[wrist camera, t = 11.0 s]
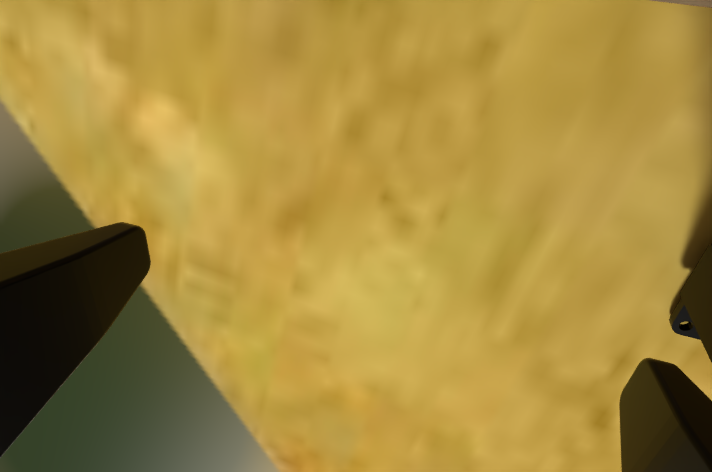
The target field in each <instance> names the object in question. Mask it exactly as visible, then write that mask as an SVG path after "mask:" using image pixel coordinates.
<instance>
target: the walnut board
mask: <svg viewBox="0 0 712 472" xmlns="http://www.w3.org/2000/svg"><path fill="white" fill-rule="evenodd" d="M652 1H660V2H669V3H677V4H685V5H693V6H702V7H710V8H712V0H652Z"/></svg>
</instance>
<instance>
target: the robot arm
mask: <svg viewBox="0 0 712 472" xmlns="http://www.w3.org/2000/svg"><path fill="white" fill-rule="evenodd" d="M150 262H151V261H150V255H149V250H148V244H147V239H146V234H145V231H144V230H143V228H141V227H140V226H136V225H133V224H129V223H124V222H120V223H116V224H112V225H108V226H104V227H100V228H96V229H93V230H89V231H85V232H81V233H77V234H73V235H70V236H66V237H62V238H58V239H54V240H50V241H46V242H43V243H39V244H35V245H31V246H27V247H23V248H19V249H16V250H12V251H8V252H4V253H0V458H1V456H2V455H3V454H4V453H5V452H6V450H7V449H8V448H9V447H10V446H11V445H12V443H13V442H14V441H15V440H16V439H17V438H18V436H19V435H20V434H21V433H22V432H23V430H24V429H25V428H26V427H27V425H29V423H30V422H31V421H32V420H33V419H34V418H35V416H36V415H37V414H38V413H39V412H40V410H41V409H42V408H43V407H44V406H45V405H46V403H47V402H48V401H49V400H50V399H51V398H52V396H53V395H54V394H55V393H56V392H57V390H58V389H59V388H60V387H61V386H62V385H63V384H64V382H65V381H66V380H67V379H68V377H69V376H70V375H71V374H72V373H73V372H74V371H75V369H76V368H77V367H78V366H79V365H80V363H81V362H82V361H83V360H84V359H85V358H86V356H87V355H88V354H89V353H90V352H91V350H92V349H93V348H94V347H95V346H96V345H97V343H98V342H99V341H100V340H101V339H102V337H103V336H104V335H105V333H106V332H107V331H108V329H109V328H110V327H111V325H112V324H113V322H114V321H115V319H116V318H117V317H118V315H119V314H120V312H121V311H122V309H123V308H124V307H125V305H126V304H127V302H128V301H129V299H130V298H131V296H132V295H133V293H134V292H135V291H136V289H137V288H138V286H139V285H140V284H141V282H142V281H143V279H144V278H145V276H146V275H147V273H148V271H149V268H150ZM680 297H681V300H680V302H679V303H678V305H677V306H676V308H675V310H674V311H673V313H672V315H671V316H670V319H669V321H670V324H671V327H672V329H673V331H674V332H675V333H677V334H680V335H683V336H688V337H692V338H696V339H700V340H701V341H702V343H703V345H704V347H705V350H706V352H707V354H708V356H709V358H710V360H711V362H712V244H710V245H709V246H708V248H707V250H706V251H705V253H704V254H703V256H702V258H701V259H700V261H699V263H698V264H697V266H696V268H695V269H694V271H693V273H692V274H691V276H690V277H689V279H688V281H687V282H686V284H685V286H684V287H683V289H682V291H681V292H680ZM684 321H689V323H687V324H680V323H681V322H684ZM620 435H621V464H622V472H712V401H711V400H710V399H709V398H708V397H707V396H706V395H705V394H704V393H703V392H702V391H701V390H700V389H699V388H698V387H697V386H696V385H695V384H694V383H693V382H692V381H691V380H690V379H689V378H688V377H687V376H686V375H685V374H684V373H683V372H682V371H681V370H680V369H679V368H678V367H677V366H676V365H674V364H671V363H668V362H664V361H660V360H656V359H652V358H646V359H643V360H642V361H641V362H640V363H639V365H638V366H637V368H636V370H635V371H634V373H633V375H632V376H631V378H630V379H629V381H628V383H627V384H626V386H625V388H624V389H623V391H622V394H621V397H620Z"/></svg>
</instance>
